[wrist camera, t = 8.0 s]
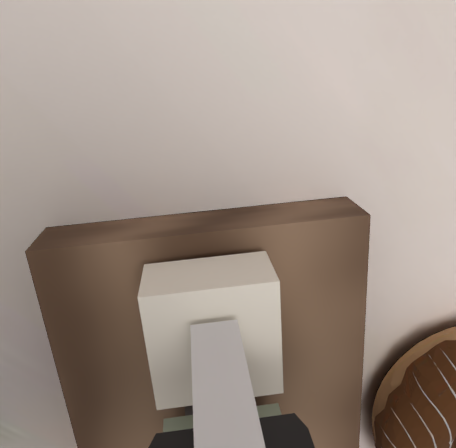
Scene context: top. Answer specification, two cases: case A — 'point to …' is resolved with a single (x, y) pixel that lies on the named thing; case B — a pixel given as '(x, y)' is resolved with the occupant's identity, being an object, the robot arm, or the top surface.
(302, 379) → the keypad
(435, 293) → the top surface
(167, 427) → the sage key
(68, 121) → the top surface
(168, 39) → the top surface
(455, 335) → the donut
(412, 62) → the top surface
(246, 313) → the cream key
